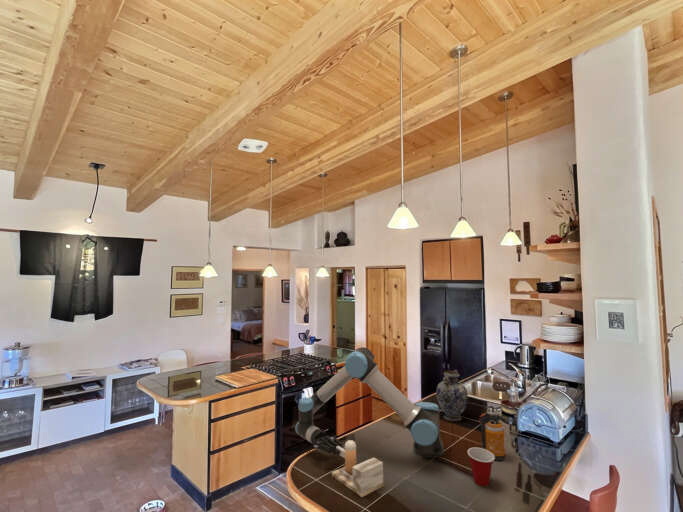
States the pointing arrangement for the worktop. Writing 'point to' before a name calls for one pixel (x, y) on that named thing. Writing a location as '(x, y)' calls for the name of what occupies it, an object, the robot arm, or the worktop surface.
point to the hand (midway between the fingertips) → (346, 454)
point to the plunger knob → (350, 456)
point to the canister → (493, 435)
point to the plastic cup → (481, 465)
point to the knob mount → (362, 477)
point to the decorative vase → (452, 396)
